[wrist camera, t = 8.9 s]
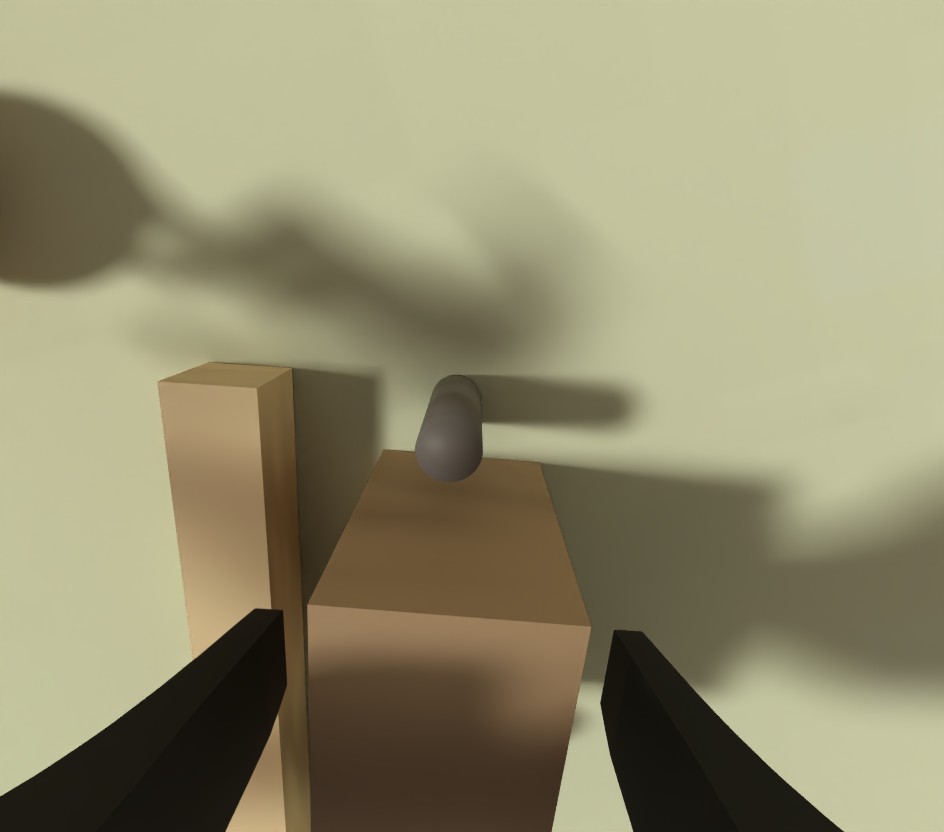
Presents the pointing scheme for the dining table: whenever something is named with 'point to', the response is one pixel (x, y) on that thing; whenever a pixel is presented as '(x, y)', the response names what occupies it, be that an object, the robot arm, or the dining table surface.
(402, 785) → the wooden box
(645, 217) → the dining table surface
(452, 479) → the ledge
